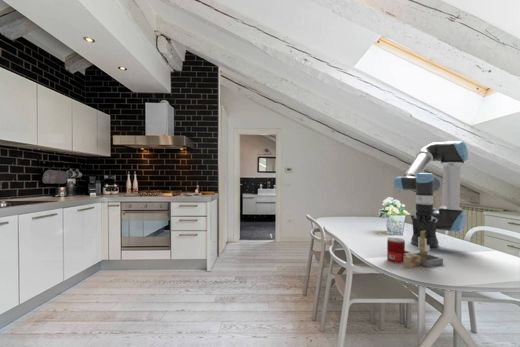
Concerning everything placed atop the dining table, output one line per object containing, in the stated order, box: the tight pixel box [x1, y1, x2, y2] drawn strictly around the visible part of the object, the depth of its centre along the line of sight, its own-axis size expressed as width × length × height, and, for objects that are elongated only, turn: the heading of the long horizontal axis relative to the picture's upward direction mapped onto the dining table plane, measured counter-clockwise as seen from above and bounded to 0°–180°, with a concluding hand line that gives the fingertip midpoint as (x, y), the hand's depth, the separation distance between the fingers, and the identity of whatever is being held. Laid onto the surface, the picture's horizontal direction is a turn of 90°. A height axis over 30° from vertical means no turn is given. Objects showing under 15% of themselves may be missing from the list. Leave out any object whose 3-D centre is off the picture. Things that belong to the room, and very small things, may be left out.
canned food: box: [386, 237, 406, 264], centre depth 145 cm, size 8×8×11 cm
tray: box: [405, 251, 444, 268], centre depth 142 cm, size 12×12×3 cm
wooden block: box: [402, 254, 421, 269], centre depth 136 cm, size 8×3×5 cm, turn 114°
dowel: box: [419, 231, 428, 261], centre depth 142 cm, size 3×3×15 cm
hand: (423, 250), depth 142 cm, fingers closed on dowel, 3 cm apart
